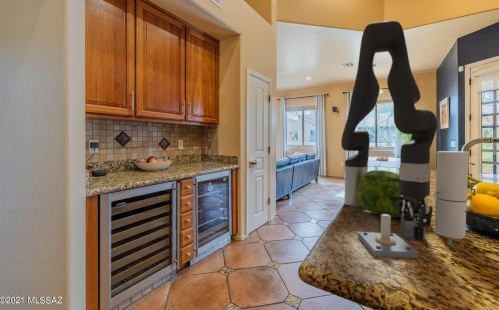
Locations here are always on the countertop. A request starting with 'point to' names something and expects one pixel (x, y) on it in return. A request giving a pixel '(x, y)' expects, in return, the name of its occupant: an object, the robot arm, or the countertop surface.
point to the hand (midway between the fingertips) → (412, 234)
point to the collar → (408, 228)
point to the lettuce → (381, 193)
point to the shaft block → (387, 242)
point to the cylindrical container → (451, 194)
